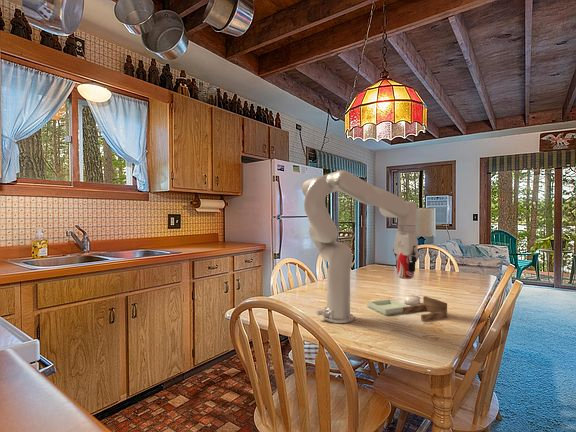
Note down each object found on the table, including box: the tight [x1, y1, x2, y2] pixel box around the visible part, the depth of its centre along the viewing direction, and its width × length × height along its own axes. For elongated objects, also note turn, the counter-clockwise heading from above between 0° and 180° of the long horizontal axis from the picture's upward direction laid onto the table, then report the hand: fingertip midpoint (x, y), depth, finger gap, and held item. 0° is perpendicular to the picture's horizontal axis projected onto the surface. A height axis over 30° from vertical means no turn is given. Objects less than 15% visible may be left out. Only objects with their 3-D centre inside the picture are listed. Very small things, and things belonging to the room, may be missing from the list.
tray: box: [366, 298, 410, 317], centre depth 149 cm, size 13×13×3 cm
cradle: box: [402, 295, 448, 322], centre depth 142 cm, size 13×12×6 cm
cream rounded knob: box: [404, 294, 421, 306], centre depth 159 cm, size 7×7×4 cm
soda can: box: [396, 253, 415, 280], centre depth 145 cm, size 7×7×12 cm
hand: (405, 269), depth 145 cm, fingers closed on soda can, 7 cm apart
